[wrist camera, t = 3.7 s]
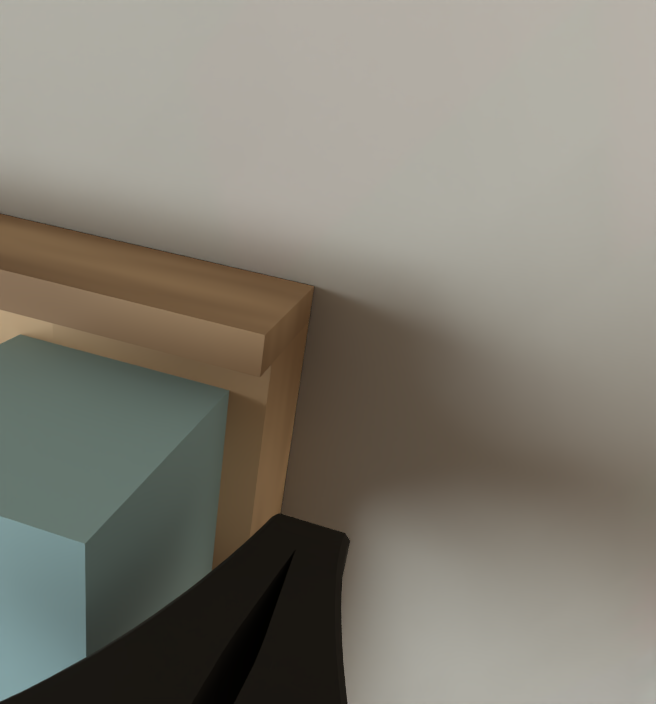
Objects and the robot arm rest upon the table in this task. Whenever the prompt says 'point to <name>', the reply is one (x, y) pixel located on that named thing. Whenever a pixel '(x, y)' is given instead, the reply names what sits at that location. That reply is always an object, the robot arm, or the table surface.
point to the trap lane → (173, 341)
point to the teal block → (97, 500)
